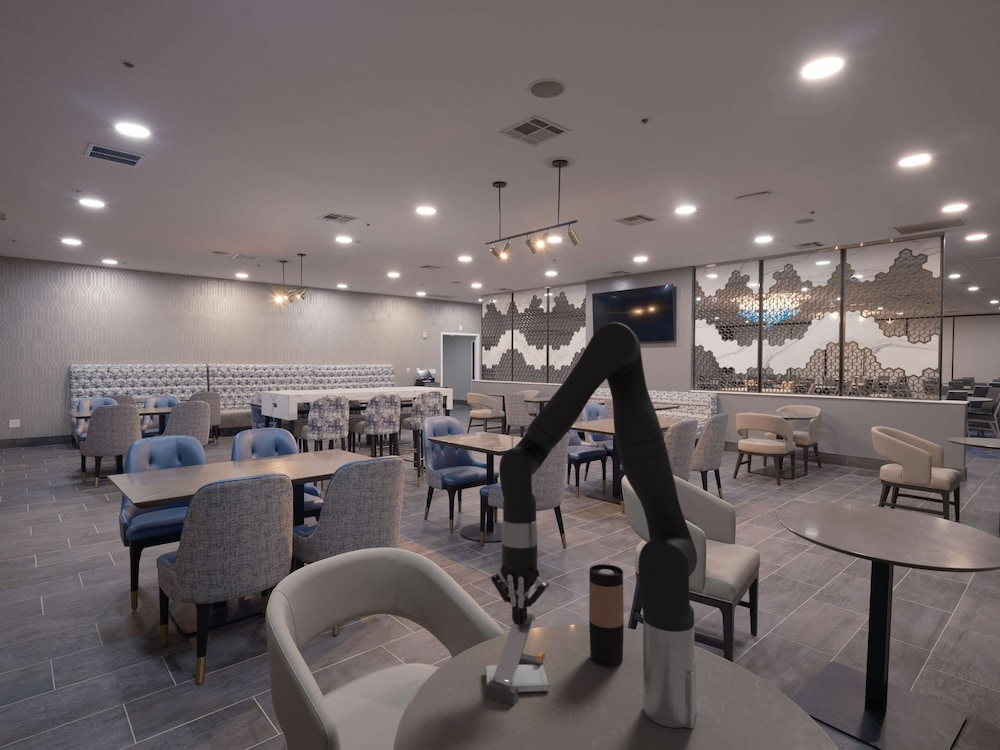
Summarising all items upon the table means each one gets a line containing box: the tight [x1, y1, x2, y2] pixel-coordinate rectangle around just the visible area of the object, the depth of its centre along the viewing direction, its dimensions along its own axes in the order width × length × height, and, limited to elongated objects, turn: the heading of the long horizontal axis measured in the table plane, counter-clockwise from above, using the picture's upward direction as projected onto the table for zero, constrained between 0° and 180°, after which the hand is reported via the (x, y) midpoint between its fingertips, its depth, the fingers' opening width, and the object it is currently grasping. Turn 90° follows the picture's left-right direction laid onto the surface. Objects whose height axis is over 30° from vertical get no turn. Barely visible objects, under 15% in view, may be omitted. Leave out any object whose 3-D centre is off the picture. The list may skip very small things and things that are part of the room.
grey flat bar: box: [492, 612, 536, 687], centre depth 110 cm, size 4×15×2 cm
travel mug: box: [588, 563, 625, 668], centre depth 120 cm, size 8×8×20 cm
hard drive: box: [484, 663, 550, 693], centre depth 110 cm, size 2×8×12 cm
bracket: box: [486, 651, 546, 707], centre depth 110 cm, size 7×15×4 cm, turn 153°
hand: (519, 623), depth 112 cm, fingers closed
